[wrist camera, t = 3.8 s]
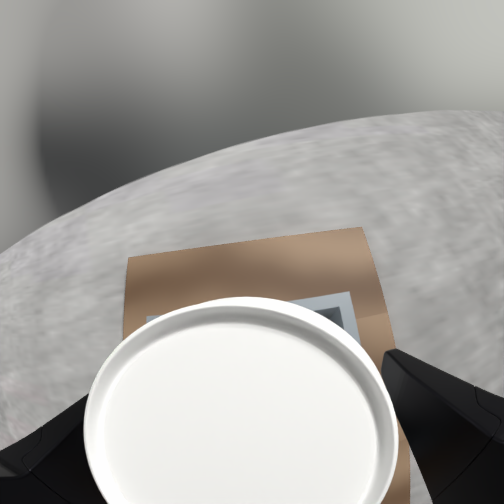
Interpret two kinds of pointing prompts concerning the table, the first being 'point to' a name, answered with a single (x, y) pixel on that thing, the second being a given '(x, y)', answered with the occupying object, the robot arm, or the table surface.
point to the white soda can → (240, 411)
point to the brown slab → (273, 292)
